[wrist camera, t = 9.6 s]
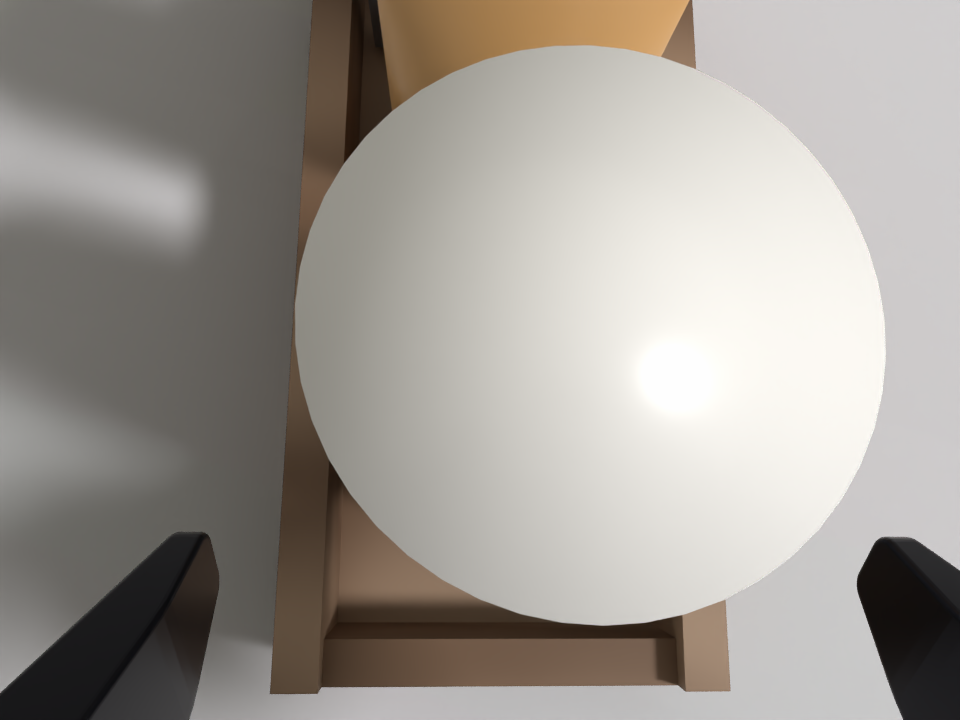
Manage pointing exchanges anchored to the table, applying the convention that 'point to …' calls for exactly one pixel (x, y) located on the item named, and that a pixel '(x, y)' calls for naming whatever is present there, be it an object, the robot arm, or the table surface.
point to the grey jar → (590, 335)
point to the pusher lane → (375, 557)
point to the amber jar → (509, 32)
